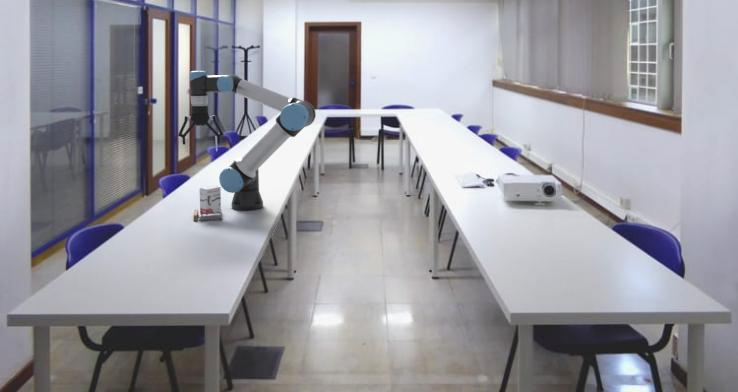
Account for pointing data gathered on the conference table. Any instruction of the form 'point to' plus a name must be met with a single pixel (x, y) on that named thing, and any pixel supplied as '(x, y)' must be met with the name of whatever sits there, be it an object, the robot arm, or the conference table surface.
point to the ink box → (210, 200)
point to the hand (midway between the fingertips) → (201, 151)
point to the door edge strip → (195, 215)
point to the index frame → (210, 216)
